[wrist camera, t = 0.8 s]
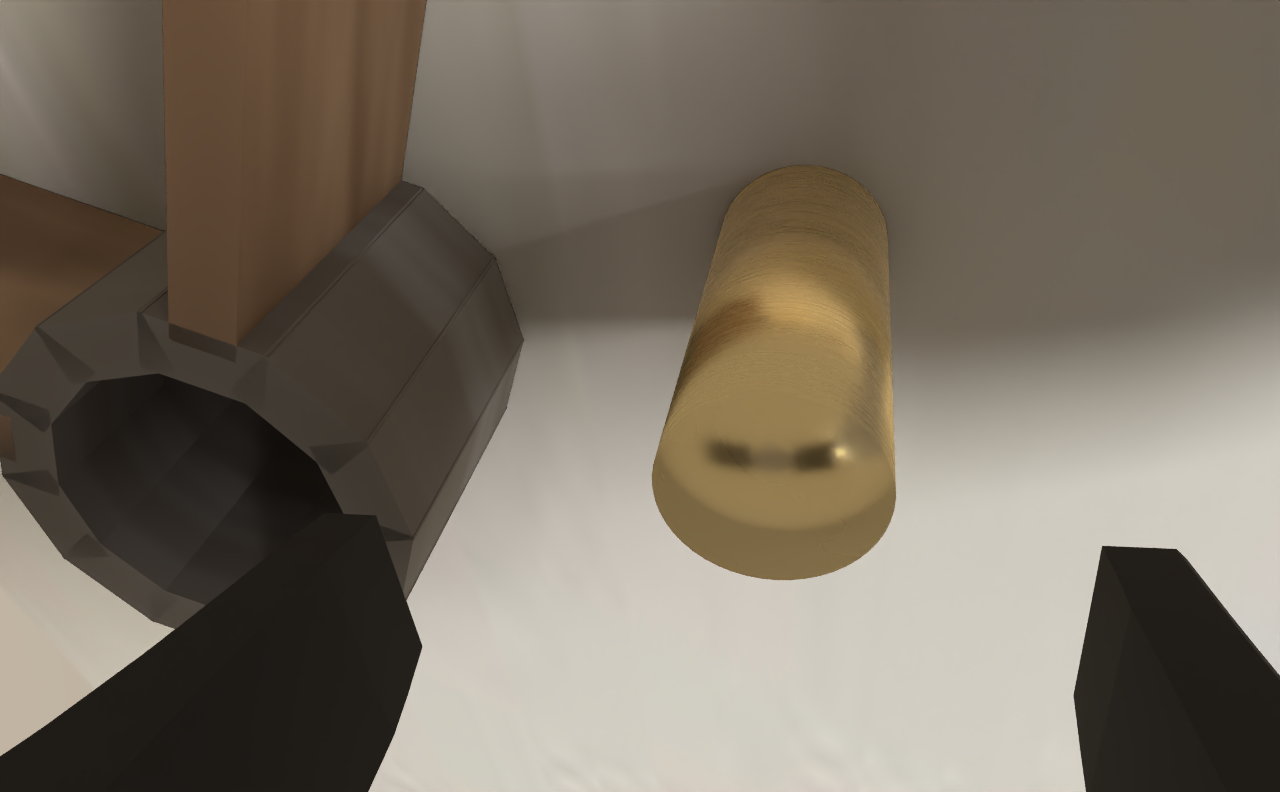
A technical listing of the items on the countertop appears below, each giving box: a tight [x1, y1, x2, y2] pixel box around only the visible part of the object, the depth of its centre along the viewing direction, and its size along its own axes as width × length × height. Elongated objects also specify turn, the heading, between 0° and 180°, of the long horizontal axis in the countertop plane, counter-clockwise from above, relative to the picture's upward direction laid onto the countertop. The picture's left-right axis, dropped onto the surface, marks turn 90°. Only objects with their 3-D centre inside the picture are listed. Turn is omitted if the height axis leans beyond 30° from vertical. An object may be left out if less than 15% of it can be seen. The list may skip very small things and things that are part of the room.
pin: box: [652, 165, 896, 580], centre depth 15 cm, size 3×3×7 cm
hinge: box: [0, 0, 524, 629], centre depth 15 cm, size 17×17×6 cm
